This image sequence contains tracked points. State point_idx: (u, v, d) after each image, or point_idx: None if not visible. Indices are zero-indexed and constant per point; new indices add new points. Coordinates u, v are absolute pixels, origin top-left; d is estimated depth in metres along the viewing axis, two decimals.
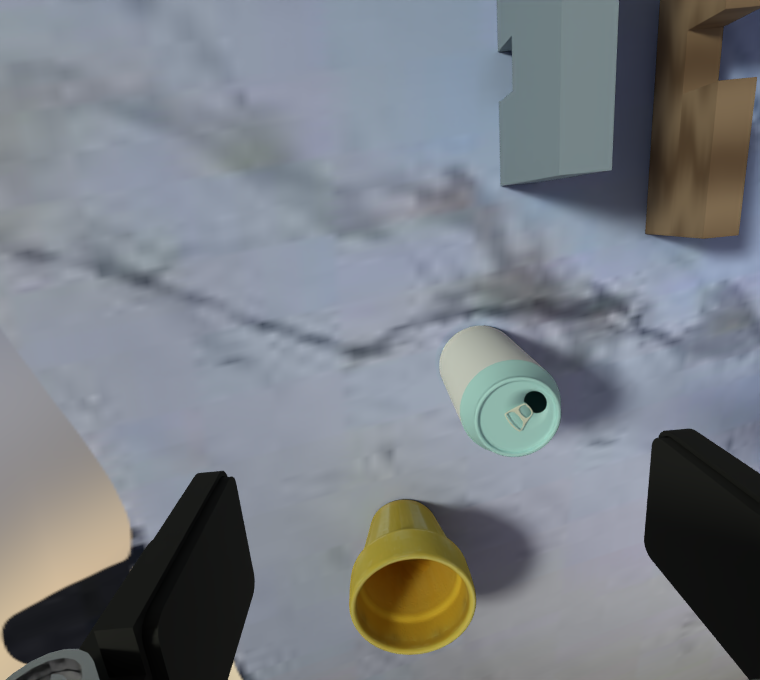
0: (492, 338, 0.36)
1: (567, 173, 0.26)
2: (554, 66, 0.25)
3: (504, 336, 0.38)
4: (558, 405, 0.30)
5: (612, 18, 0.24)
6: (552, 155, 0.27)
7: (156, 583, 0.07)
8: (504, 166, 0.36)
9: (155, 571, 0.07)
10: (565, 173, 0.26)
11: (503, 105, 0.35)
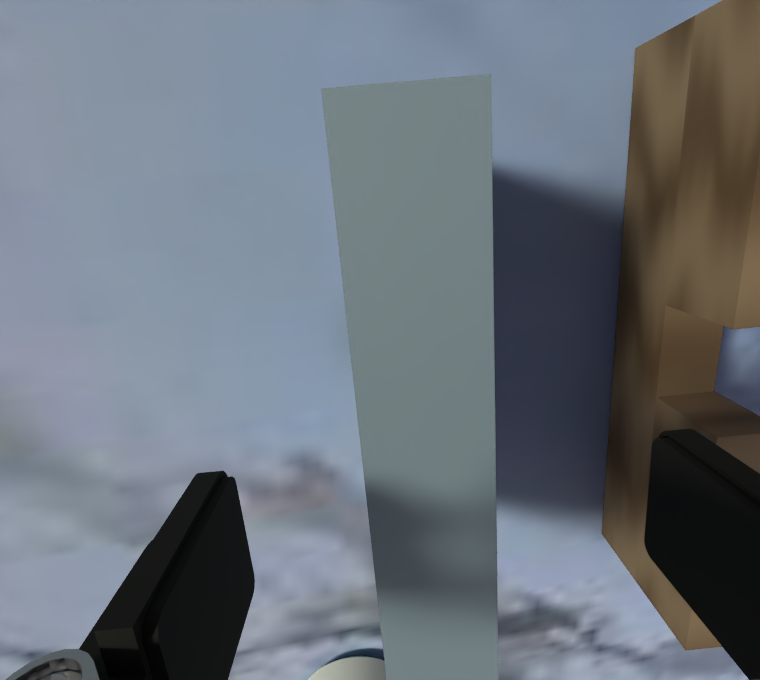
0: None
1: None
2: None
3: None
4: None
5: (482, 486, 0.11)
6: None
7: (156, 583, 0.07)
8: None
9: (155, 571, 0.07)
10: None
11: None
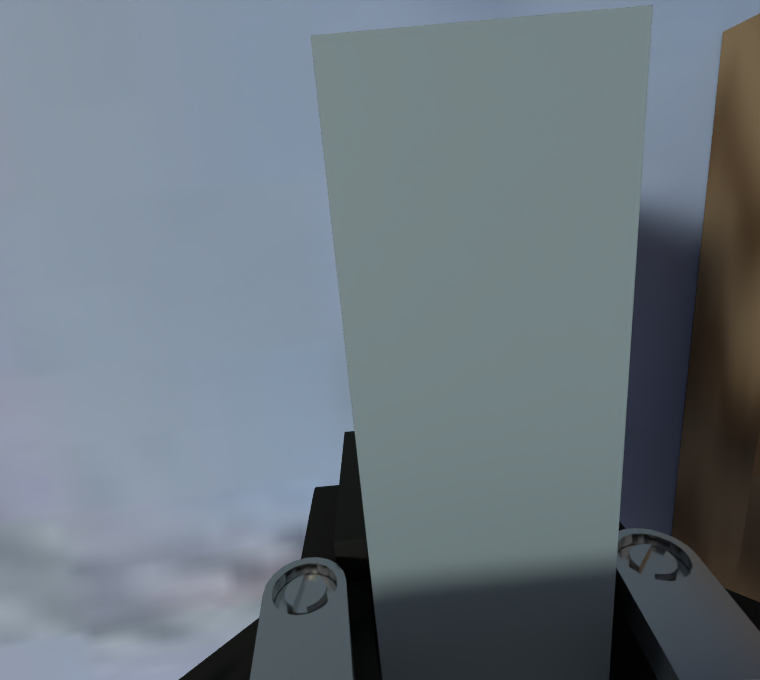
0: None
1: None
2: None
3: None
4: None
5: None
6: None
7: None
8: None
9: (358, 501, 0.08)
10: None
11: None
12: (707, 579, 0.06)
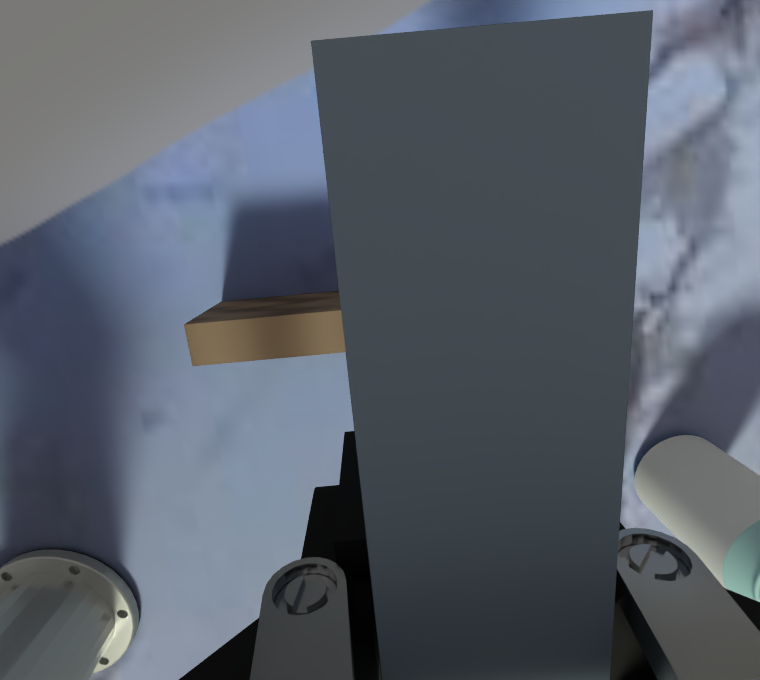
0: (667, 507, 0.33)
1: None
2: None
3: (661, 478, 0.34)
4: None
5: None
6: None
7: None
8: None
9: (357, 501, 0.08)
10: None
11: None
12: (707, 579, 0.06)
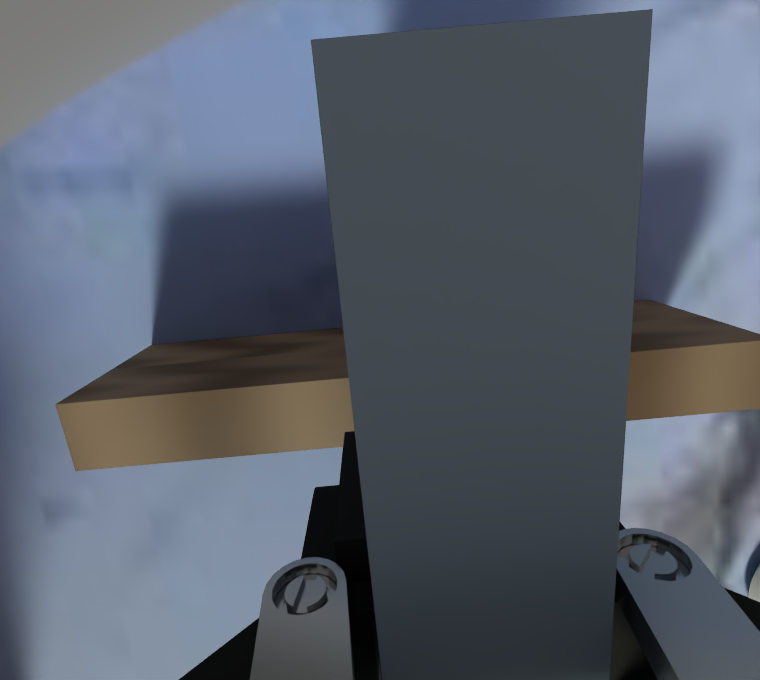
0: None
1: None
2: None
3: None
4: None
5: None
6: None
7: None
8: None
9: (358, 501, 0.08)
10: None
11: None
12: (707, 579, 0.06)
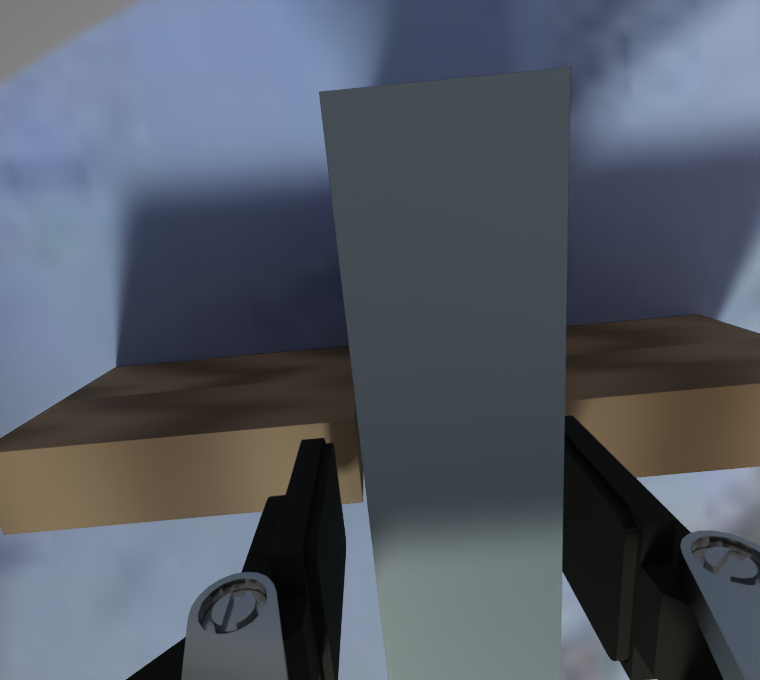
0: None
1: None
2: None
3: None
4: None
5: (543, 629, 0.08)
6: None
7: (306, 521, 0.08)
8: None
9: (300, 513, 0.08)
10: None
11: None
12: None
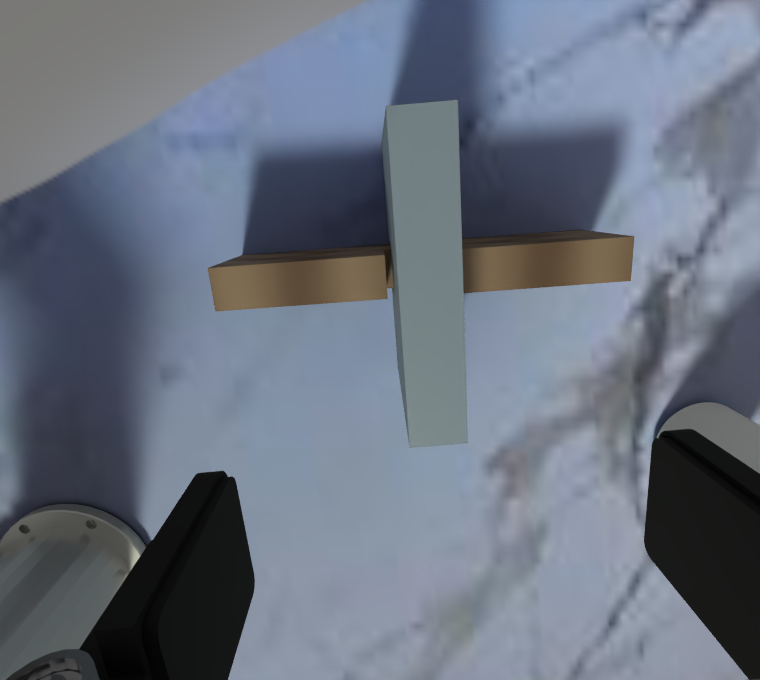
0: None
1: (418, 445, 0.24)
2: (401, 335, 0.23)
3: None
4: None
5: (457, 299, 0.21)
6: (406, 417, 0.24)
7: (156, 583, 0.07)
8: (397, 355, 0.34)
9: (155, 571, 0.07)
10: (416, 445, 0.24)
11: (393, 297, 0.32)
12: None
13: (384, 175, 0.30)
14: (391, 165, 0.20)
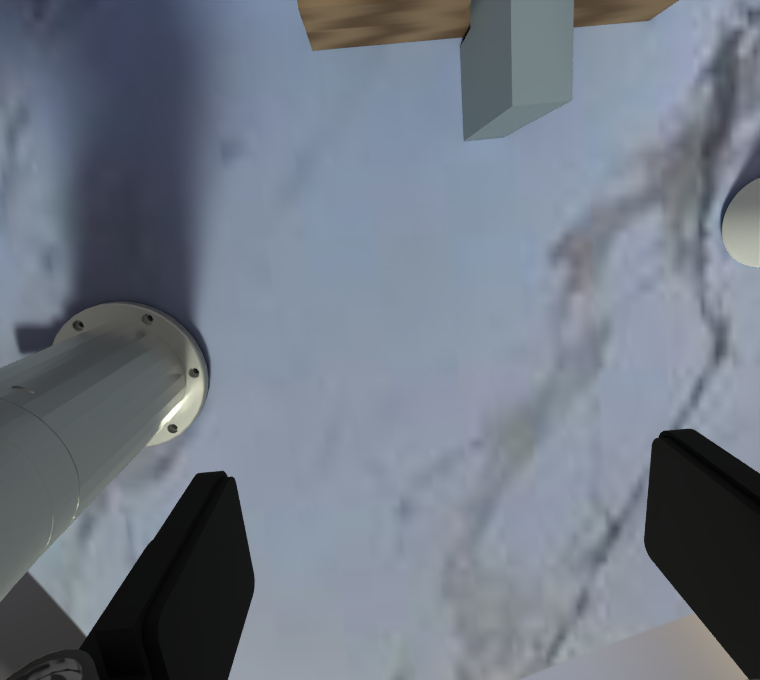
0: None
1: (521, 104, 0.23)
2: None
3: (757, 202, 0.33)
4: None
5: None
6: (505, 85, 0.24)
7: (156, 583, 0.07)
8: (466, 117, 0.33)
9: (155, 571, 0.07)
10: (519, 104, 0.23)
11: (463, 48, 0.32)
12: None
13: None
14: None
